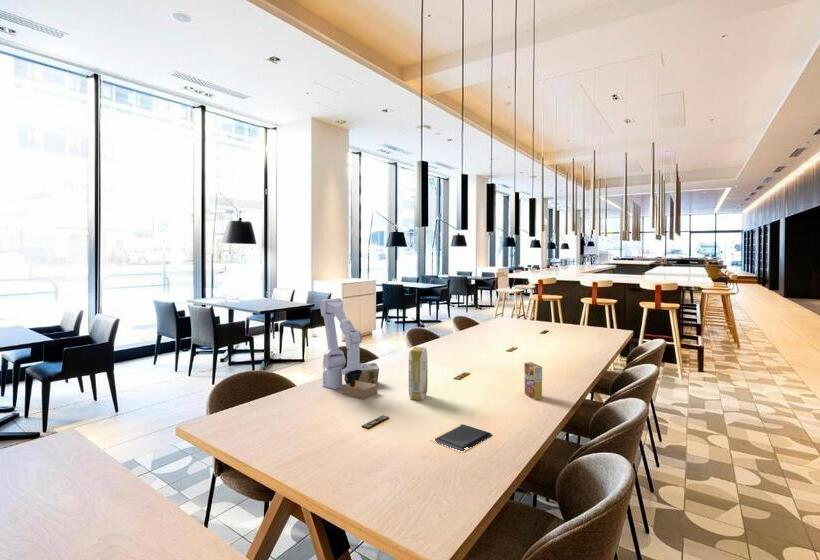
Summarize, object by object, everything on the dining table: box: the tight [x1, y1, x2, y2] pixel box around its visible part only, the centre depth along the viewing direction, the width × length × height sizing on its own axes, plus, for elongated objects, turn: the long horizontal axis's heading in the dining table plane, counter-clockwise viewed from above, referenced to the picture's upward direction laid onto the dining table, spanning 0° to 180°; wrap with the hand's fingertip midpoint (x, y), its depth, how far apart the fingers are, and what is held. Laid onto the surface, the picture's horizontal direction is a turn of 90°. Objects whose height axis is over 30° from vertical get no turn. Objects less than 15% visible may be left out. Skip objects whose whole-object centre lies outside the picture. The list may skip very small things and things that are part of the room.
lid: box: [341, 380, 378, 392], centre depth 210 cm, size 13×10×4 cm
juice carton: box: [408, 345, 429, 401], centre depth 204 cm, size 9×8×24 cm
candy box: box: [523, 361, 543, 401], centre depth 205 cm, size 9×4×15 cm, turn 17°
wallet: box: [434, 424, 494, 451], centre depth 161 cm, size 20×2×15 cm
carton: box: [341, 386, 378, 400], centre depth 210 cm, size 13×10×4 cm
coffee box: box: [343, 362, 380, 384], centre depth 224 cm, size 9×6×16 cm
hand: (353, 386), depth 207 cm, fingers closed on lid
